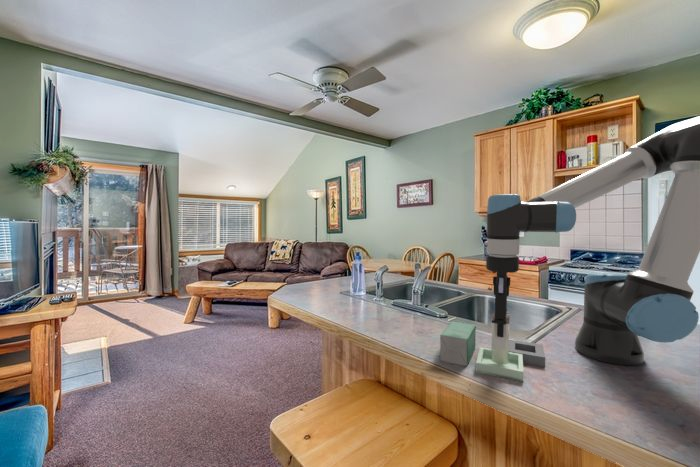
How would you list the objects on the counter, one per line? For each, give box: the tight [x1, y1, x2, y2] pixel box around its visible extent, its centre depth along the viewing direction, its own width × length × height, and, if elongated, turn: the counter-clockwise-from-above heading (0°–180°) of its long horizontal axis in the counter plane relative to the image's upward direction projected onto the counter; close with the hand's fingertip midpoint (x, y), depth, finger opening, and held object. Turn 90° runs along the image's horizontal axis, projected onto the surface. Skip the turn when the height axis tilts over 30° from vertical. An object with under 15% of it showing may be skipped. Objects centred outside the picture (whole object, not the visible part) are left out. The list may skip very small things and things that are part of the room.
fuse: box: [491, 312, 510, 365], centre depth 82 cm, size 4×4×12 cm
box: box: [439, 321, 477, 367], centre depth 91 cm, size 7×14×8 cm, turn 150°
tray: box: [475, 346, 524, 383], centre depth 83 cm, size 10×10×2 cm
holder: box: [509, 339, 546, 368], centre depth 89 cm, size 9×9×2 cm
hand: (500, 344), depth 82 cm, fingers open, 4 cm apart
